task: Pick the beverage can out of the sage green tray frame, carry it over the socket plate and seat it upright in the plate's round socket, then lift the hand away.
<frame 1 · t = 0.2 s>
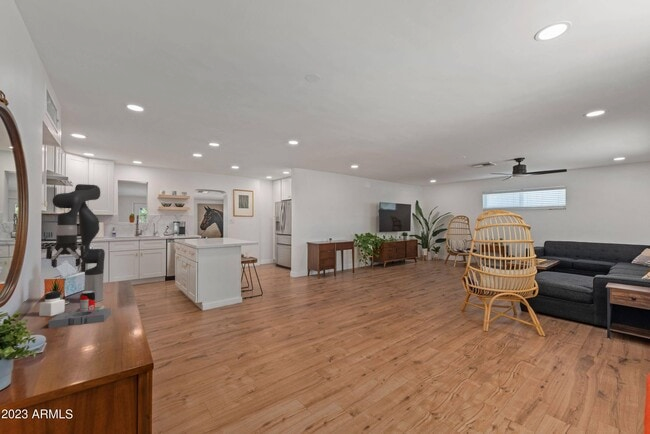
hand: (66, 266, 136), 28 cm above the table, tool pointing down, fingers open, 8 cm apart
tray frame: (87, 313, 150), on the table
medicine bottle: (52, 314, 149), on the table
socket plate: (81, 320, 139), on the table
beverage can: (87, 314, 150), resting in tray frame
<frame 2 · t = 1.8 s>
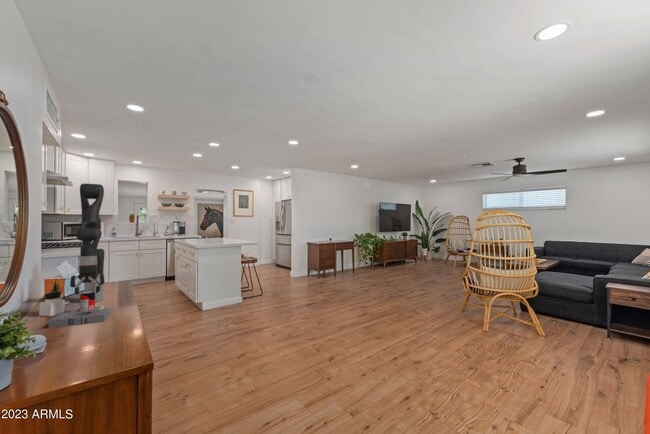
hand: (87, 293, 150), 11 cm above the table, tool pointing down, fingers open, 8 cm apart
nothing on the table moved.
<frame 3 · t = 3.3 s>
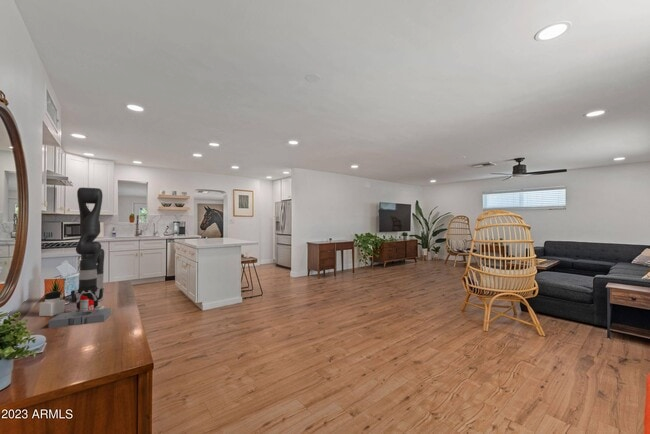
hand: (87, 308, 150), 3 cm above the table, tool pointing down, fingers closed on beverage can, 6 cm apart
beverage can: (87, 314, 150), resting in tray frame, touching gripper
everything else where it was.
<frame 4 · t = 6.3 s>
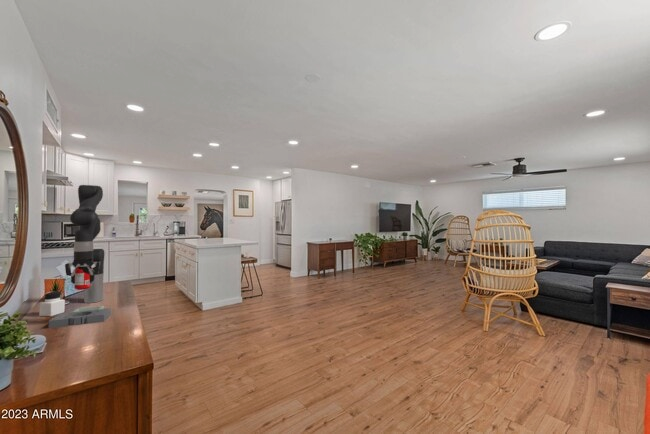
hand: (82, 282, 140), 19 cm above the table, tool pointing down, fingers closed on beverage can, 6 cm apart
beverage can: (82, 289, 140), point 16 cm above the table, touching gripper
everything else where it was.
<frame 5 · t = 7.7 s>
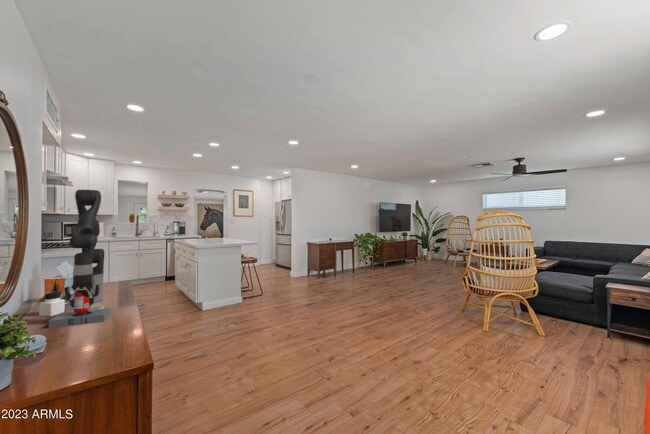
hand: (82, 305, 139), 8 cm above the table, tool pointing down, fingers closed on beverage can, 6 cm apart
beverage can: (82, 312, 139), point 4 cm above the table, touching gripper
everything else where it was.
when the fingers open (5 cm above the table, at t = 9.1 s): beverage can drops 2 cm, resting in socket plate.
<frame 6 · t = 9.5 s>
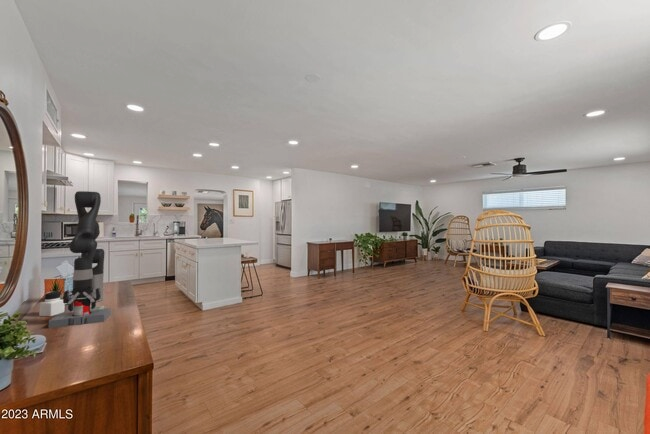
hand: (82, 309, 139), 6 cm above the table, tool pointing down, fingers open, 8 cm apart
beverage can: (81, 321, 139), resting in socket plate
everything else where it was.
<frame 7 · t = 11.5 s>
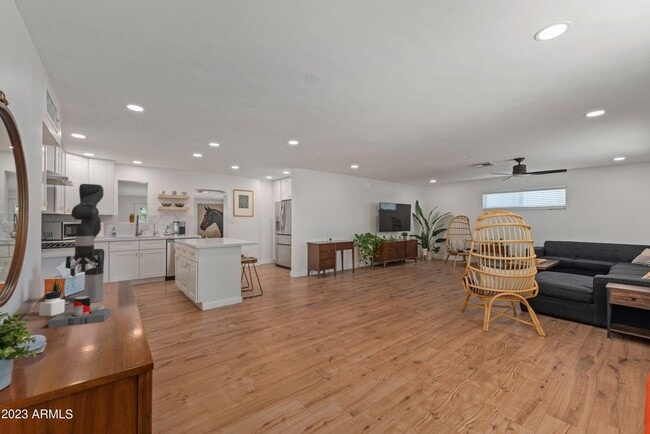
hand: (84, 275, 142), 23 cm above the table, tool pointing down, fingers open, 8 cm apart
nothing on the table moved.
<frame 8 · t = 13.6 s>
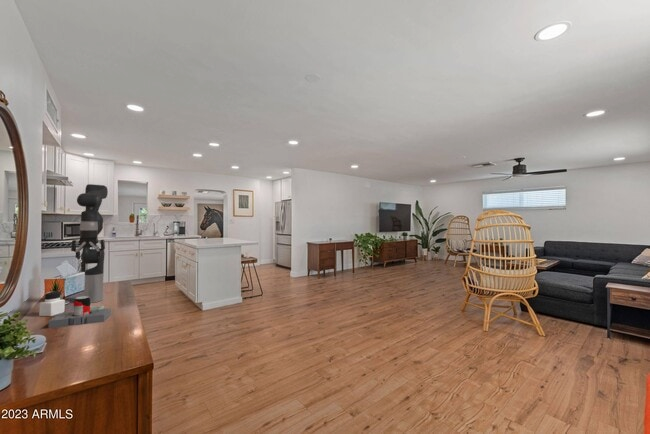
hand: (88, 258, 153), 30 cm above the table, tool pointing down, fingers open, 8 cm apart
nothing on the table moved.
at the end: beverage can 0.1 cm off-centre on the socket plate, point 0.0 cm above the socket plate's base; beverage can tilted 0°; the gripper is holding nothing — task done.
